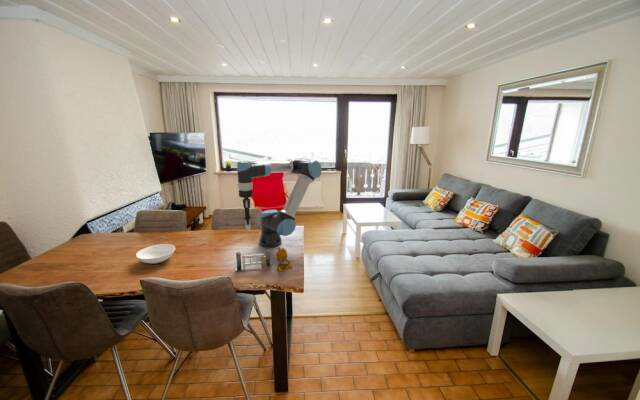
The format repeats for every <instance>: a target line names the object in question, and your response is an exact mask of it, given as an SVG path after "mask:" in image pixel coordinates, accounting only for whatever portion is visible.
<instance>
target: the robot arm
mask: <svg viewBox="0 0 640 400" xmlns="http://www.w3.org/2000/svg"><path fill="white" fill-rule="evenodd" d="M236 171H237V184H236V185H237V187H238V196H239V198H243V199H242V204H243V205H242V206H243V208H244V218H243V220H244V222H245V230H246V231H251V229H252V227H251V218H252V216H251V214H250V208H251V199H250V198H252V197H253V196H254V188H253V186H254V185H253V183H254V182H253V179H254V178H263V177H264V178H265V177H267V176H270V175H271V174H272V173H273V174H276V173H286V174H293V175H294V174H295V175H297V179H296V182H295V184H294V185H293V188H292V190H291V192H290V194H289V196H288V198H287V200H286V202H285V204H284V206H283V207H282V209H281V210H277V209H267V210H264V211H261V212H260V217H259V218H260V231H261V232H260V237H259V239H258V244H259V245H260V246H261V247H263V248H264V247H265V248H273V247H277V246H278V247H279V245H281V244H282V237H281V236H283V237H289V236H290V235H292V234H293V233H294V231H295V230H296V227H297V226H296V221H295V220H296V219H297V218H296V217H295V216H296V213H297V211H298V209H299V207H300V205H301V203H302V201H303V198H304V196H305V195H306V193H307V190H308V189H309V186H310V184H311V183H314V180H315V179H318V178H320V176H321V174H322V165H321V163H320V161H319V160H315V159H308V158H293V159H292V158H290V159H286V160H271V161H269V160H268V161H267V160H266V161H265V160H264V161H260V160H259V161H258V160H257V161H251V160H240V161H238V162H237V165H236Z"/></svg>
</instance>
